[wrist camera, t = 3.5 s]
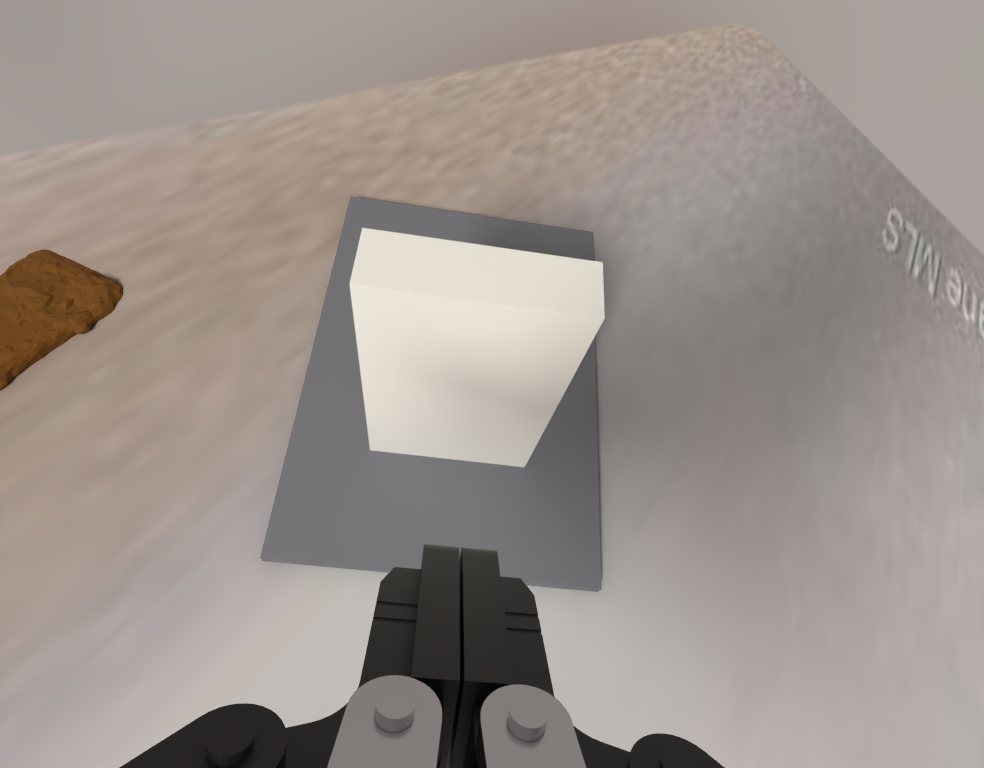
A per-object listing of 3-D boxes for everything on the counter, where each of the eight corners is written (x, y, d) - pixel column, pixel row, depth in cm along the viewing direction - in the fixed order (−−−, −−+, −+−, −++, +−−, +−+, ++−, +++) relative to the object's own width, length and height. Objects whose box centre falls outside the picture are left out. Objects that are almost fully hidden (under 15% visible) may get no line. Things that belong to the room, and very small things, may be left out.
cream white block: (377, 407, 27) (363, 223, 17) (526, 424, 28) (602, 258, 17) (369, 450, 26) (349, 283, 16) (524, 467, 27) (604, 317, 16)
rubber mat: (351, 204, 33) (350, 196, 33) (589, 239, 35) (592, 232, 34) (263, 560, 24) (260, 557, 23) (597, 591, 25) (601, 589, 25)
